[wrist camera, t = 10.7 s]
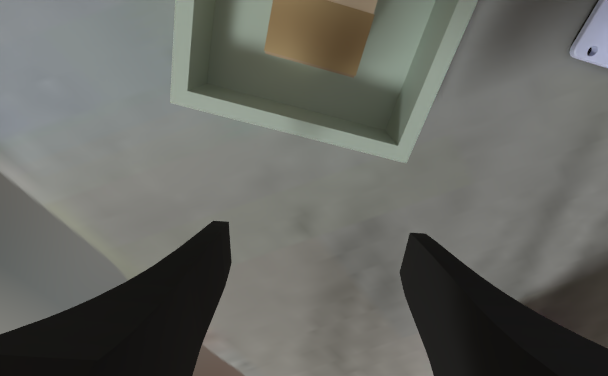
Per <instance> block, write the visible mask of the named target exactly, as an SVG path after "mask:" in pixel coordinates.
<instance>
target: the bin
mask: <svg viewBox="0 0 608 376" xmlns="http://www.w3.org/2000/svg"><path fill="white" fill-rule="evenodd" d="M477 2H478V0H378V1H377V5H376V8H375V11H374V15H375V16H374V19H373V22H372V25H371V29H370V32H369V35H368V38H367V41H366V45H365V48H364V51H363V54H362V57H361V61H360V64H359V67H358V70H357V73H356V76H354V78H352V77H349V76H345V75H341V74H338V73H334V72H331V71H327V70H323V69H320V68H316V67H313V66H309V65H305V64H302V63H298V62H294V61H291V60H287V59H284V58H280V57H276V56H273V55H269V54H266V53H265V51H264V48H265V42H266V37H267V31H268V25H269V20H270V14H271V8H272V3H273V0H175V16H174V35H173V55H172V75H171V95H170V103H172V104H176V105H180V106H184V107H188V108H192V109H196V110H200V111H204V112H208V113H211V114H215V115H219V116H223V117H227V118H231V119H235V120H239V121H243V122H247V123H251V124H254V125H258V126H262V127H266V128H270V129H274V130H278V131H282V132H286V133H290V134H293V135H297V136H301V137H305V138H309V139H313V140H317V141H321V142H325V143H329V144H333V145H336V146H340V147H344V148H348V149H352V150H356V151H360V152H364V153H368V154H372V155H376V156H379V157H383V158H387V159H391V160H395V161H399V162H403V163H407V161H408V158H409V156H410V154H411V152H412V149H413V147H414V145H415V142H416V140H417V138H418V136H419V133H420V131H421V129H422V127H423V124H424V122H425V120H426V118H427V115H428V113H429V111H430V109H431V106H432V104H433V102H434V99H435V97H436V95H437V93H438V90H439V88H440V86H441V84H442V81H443V79H444V77H445V75H446V72H447V70H448V68H449V66H450V63H451V61H452V59H453V56H454V54H455V52H456V50H457V47H458V45H459V43H460V41H461V38H462V36H463V34H464V32H465V29H466V27H467V25H468V23H469V20H470V18H471V16H472V13H473V11H474V9H475V7H476V4H477Z"/></svg>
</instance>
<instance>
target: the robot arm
mask: <svg viewBox="0 0 608 376" xmlns="http://www.w3.org/2000/svg"><path fill="white" fill-rule="evenodd" d="M590 47H591V48H592V50H591V53H590V54H589V55H587V52H588V50H589V48H590ZM570 55H571V57H573V58H575V59H579V60H582V61H585V62H588V63H592V64H595V65H598V66H601V67H605V68H608V0H599V1H598V3H597V4H596V6H595V8H594V9H593V11H592V13H591V14H590V16H589V18H588V19H587V21H586V23H585V24H584V26H583V28H582V29H581V31H580V33H579V34H578V36H577V38H576V39H575V41H574V43H573V44H572V46H571V48H570ZM230 266H231V249H230V235H229V222H222V221H213V222H211V223H210V224H209V225H207V226H206V227H205V228H204V229H202V230H201V231H200V232H199V233H197V234H196V235H195V236H194V237H192V238H191V239H190V240H188V241H187V242H186V243H185V244H183V245H182V246H181V247H179V248H178V249H177V250H175V251H174V252H172V253H171V254H170V255H168V256H167V257H165V258H164V259H162V260H161V261H159V262H158V263H157V264H155V265H154V266H152V267H150V268H149V269H147V270H146V271H144V272H142V273H141V274H139V275H137V276H135V277H134V278H132V279H130V280H128V281H127V282H125V283H123V284H121V285H119V286H117V287H115V288H113V289H111V290H109V291H107V292H105V293H103V294H101V295H99V296H97V297H95V298H93V299H91V300H89V301H86V302H84V303H82V304H79V305H77V306H75V307H73V308H70V309H68V310H65V311H63V312H61V313H58V314H56V315H53V316H51V317H48V318H46V319H43V320H40V321H37V322H34V323H32V324H29V325H26V326H23V327H20V328H18V329H15V330H12V331H9V332H6V333H3V334H0V376H192V375H193V371H194V368H195V365H196V361H197V357H198V355H199V351H200V348H201V345H202V343H203V340H204V337H205V335H206V332H207V330H208V327H209V325H210V322H211V320H212V318H213V315H214V313H215V310H216V308H217V305H218V303H219V300H220V298H221V295H222V293H223V290H224V288H225V285H226V281H227V278H228V274H229V270H230ZM400 276H401V281H402V285H403V289H404V293H405V297H406V300H407V302H408V305H409V308H410V310H411V313H412V316H413V318H414V321H415V323H416V326H417V329H418V331H419V334H420V336H421V339H422V341H423V344H424V347H425V349H426V352H427V355H428V358H429V361H430V364H431V367H432V371H433V375H434V376H608V349H607V348H605V347H603V346H601V345H599V344H597V343H595V342H592V341H590V340H588V339H586V338H584V337H582V336H580V335H578V334H576V333H574V332H572V331H570V330H568V329H566V328H564V327H562V326H560V325H558V324H557V323H555V322H553V321H551V320H549V319H547V318H545V317H544V316H542V315H540V314H538V313H536V312H535V311H533V310H531V309H530V308H528V307H526V306H524V305H523V304H521V303H520V302H518V301H516V300H515V299H513V298H512V297H510V296H508V295H507V294H505V293H504V292H502V291H501V290H499V289H498V288H496V287H495V286H493V285H492V284H491V283H489V282H488V281H486V280H485V279H484V278H482V277H481V276H479V275H478V274H477V273H475V272H474V271H473V270H471V269H470V268H469V267H467V266H466V265H465V264H464V263H462V262H461V261H460V260H458V259H457V258H456V257H455V256H453V255H452V254H451V253H450V252H448V251H447V250H446V249H445V248H443V247H442V246H441V245H440V244H438V243H437V242H436V241H435V240H433V239H432V238H431V237H429V236H428V235H427V234H421V233H410V235H409V239H408V243H407V246H406V250H405V254H404V258H403V262H402V266H401V270H400Z"/></svg>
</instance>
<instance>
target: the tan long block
mask: <svg viewBox="0 0 608 376" xmlns="http://www.w3.org/2000/svg"><path fill="white" fill-rule="evenodd" d="M377 1H378V0H273V3H272V8H271V14H270V20H269V25H268V31H267V37H266V42H265V48H264V51H265V53H266V54H269V55H273V56H276V57H280V58H284V59H287V60H291V61H294V62H298V63H302V64H305V65H309V66H313V67H316V68H320V69H323V70H327V71H331V72H334V73H338V74H341V75H345V76H349V77H352V78H354V76H356V73H357V70H358V67H359V64H360V61H361V57H362V54H363V51H364V48H365V45H366V41H367V38H368V35H369V32H370V29H371V25H372V22H373V19H374V16H375V15H374V11H375V8H376V5H377Z"/></svg>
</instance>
